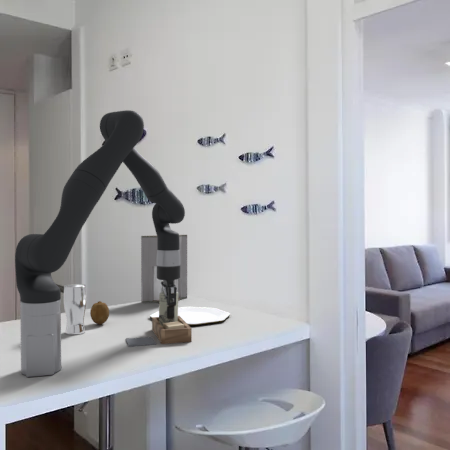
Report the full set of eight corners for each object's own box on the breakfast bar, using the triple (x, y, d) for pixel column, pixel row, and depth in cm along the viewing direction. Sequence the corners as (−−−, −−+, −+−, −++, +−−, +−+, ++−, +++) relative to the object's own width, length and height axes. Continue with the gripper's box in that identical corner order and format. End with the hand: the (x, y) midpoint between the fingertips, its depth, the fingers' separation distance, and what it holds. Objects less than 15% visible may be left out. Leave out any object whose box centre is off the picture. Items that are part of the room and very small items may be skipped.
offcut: (184, 333, 148) (184, 324, 148) (168, 335, 146) (168, 326, 146) (178, 329, 153) (178, 321, 153) (162, 331, 150) (162, 323, 150)
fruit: (113, 323, 169) (113, 300, 169) (99, 327, 164) (99, 303, 164) (100, 321, 173) (100, 298, 172) (86, 325, 167) (86, 301, 167)
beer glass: (78, 328, 162) (78, 283, 162) (91, 332, 158) (90, 285, 157) (59, 332, 157) (59, 285, 156) (72, 336, 152) (71, 288, 152)
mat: (156, 344, 144) (156, 343, 144) (128, 346, 141) (128, 345, 141) (152, 337, 151) (152, 336, 151) (125, 339, 149) (125, 338, 149)
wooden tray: (191, 341, 147) (191, 328, 147) (161, 344, 144) (161, 330, 144) (179, 327, 164) (179, 315, 164) (152, 329, 161) (152, 317, 161)
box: (158, 333, 157) (158, 292, 156) (163, 330, 161) (163, 290, 160) (173, 334, 155) (173, 293, 155) (178, 331, 159) (178, 291, 159)
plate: (235, 312, 189) (235, 308, 189) (217, 329, 163) (217, 325, 163) (168, 309, 196) (168, 305, 196) (139, 324, 170) (139, 320, 169)
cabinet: (185, 297, 219) (185, 234, 218) (195, 301, 211) (196, 235, 210) (141, 302, 208) (141, 235, 207) (150, 306, 200) (150, 237, 199)
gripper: (184, 266, 151) (184, 320, 152) (175, 261, 165) (175, 311, 166) (160, 267, 149) (160, 322, 150) (153, 262, 163) (153, 312, 164)
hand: (168, 316), depth 158 cm, fingers closed on box, 6 cm apart
